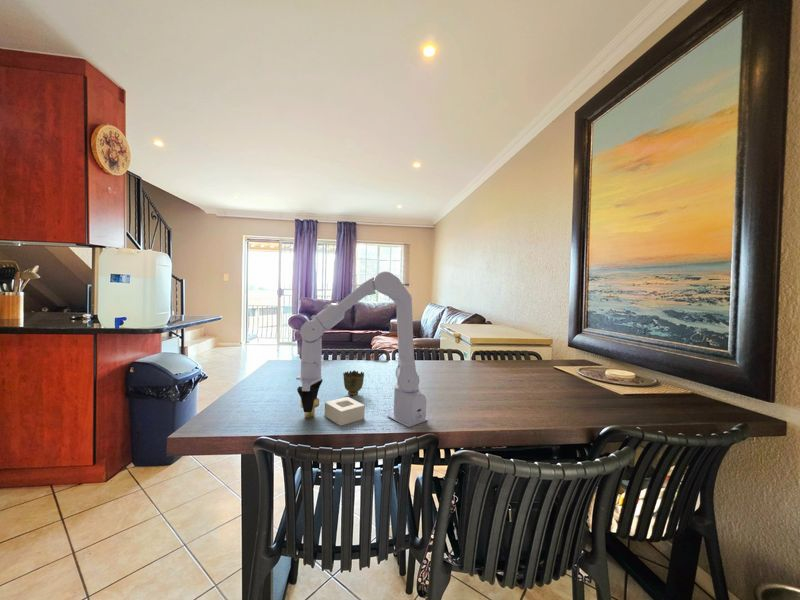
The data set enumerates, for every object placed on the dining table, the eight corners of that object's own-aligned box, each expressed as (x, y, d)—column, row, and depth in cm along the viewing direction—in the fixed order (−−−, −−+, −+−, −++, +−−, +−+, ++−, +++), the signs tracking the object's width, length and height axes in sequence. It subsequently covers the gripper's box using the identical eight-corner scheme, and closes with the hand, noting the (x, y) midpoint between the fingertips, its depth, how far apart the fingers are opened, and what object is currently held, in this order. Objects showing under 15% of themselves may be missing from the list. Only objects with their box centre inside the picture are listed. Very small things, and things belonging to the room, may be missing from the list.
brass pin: (321, 417, 91) (322, 400, 91) (305, 422, 88) (305, 404, 87) (313, 412, 95) (314, 396, 95) (297, 416, 91) (297, 399, 91)
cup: (367, 394, 113) (368, 372, 113) (354, 400, 107) (355, 377, 106) (351, 390, 117) (352, 369, 117) (338, 395, 110) (338, 373, 110)
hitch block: (364, 418, 92) (364, 405, 92) (340, 425, 86) (341, 411, 86) (347, 409, 98) (347, 396, 98) (324, 415, 93) (324, 402, 93)
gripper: (302, 356, 98) (301, 399, 98) (290, 367, 83) (289, 418, 84) (325, 356, 98) (324, 399, 99) (318, 368, 84) (316, 418, 84)
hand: (309, 407), depth 91 cm, fingers closed on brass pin, 5 cm apart
